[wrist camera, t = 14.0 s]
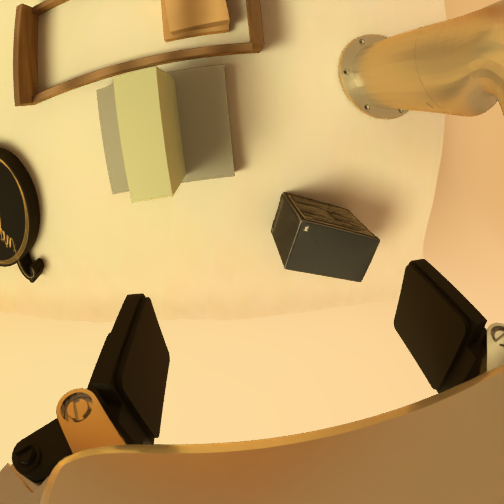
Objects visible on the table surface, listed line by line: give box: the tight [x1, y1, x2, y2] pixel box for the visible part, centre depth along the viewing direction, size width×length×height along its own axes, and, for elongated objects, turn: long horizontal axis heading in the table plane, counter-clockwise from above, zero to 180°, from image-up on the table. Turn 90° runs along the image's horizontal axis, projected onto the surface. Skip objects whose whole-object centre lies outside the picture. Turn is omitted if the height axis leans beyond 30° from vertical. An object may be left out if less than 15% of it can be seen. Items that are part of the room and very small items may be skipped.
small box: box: [271, 193, 380, 282], centre depth 37 cm, size 11×6×10 cm, turn 76°
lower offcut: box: [161, 0, 229, 42], centre depth 26 cm, size 8×10×2 cm
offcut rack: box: [13, 0, 264, 106], centre depth 24 cm, size 32×16×5 cm, turn 95°
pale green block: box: [113, 67, 186, 203], centre depth 27 cm, size 4×12×10 cm, turn 5°
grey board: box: [97, 65, 235, 194], centre depth 33 cm, size 16×14×2 cm
